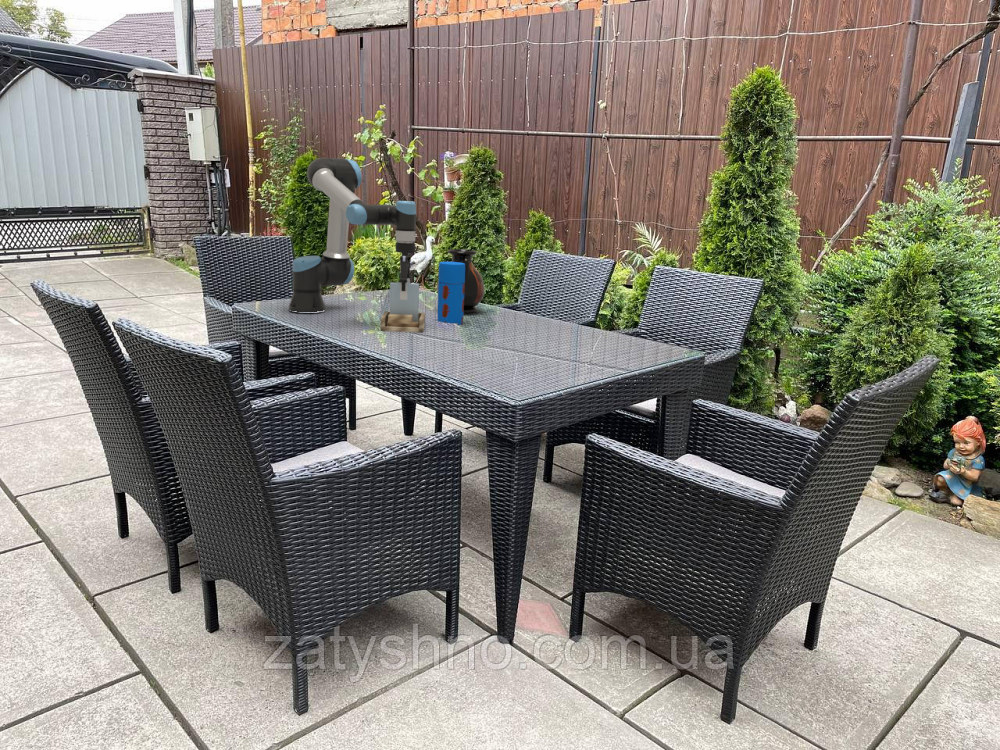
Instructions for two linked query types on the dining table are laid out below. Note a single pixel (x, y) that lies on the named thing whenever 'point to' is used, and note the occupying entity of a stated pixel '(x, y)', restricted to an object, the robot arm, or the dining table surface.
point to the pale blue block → (407, 305)
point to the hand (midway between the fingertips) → (404, 297)
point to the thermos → (451, 292)
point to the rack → (402, 329)
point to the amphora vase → (469, 279)
